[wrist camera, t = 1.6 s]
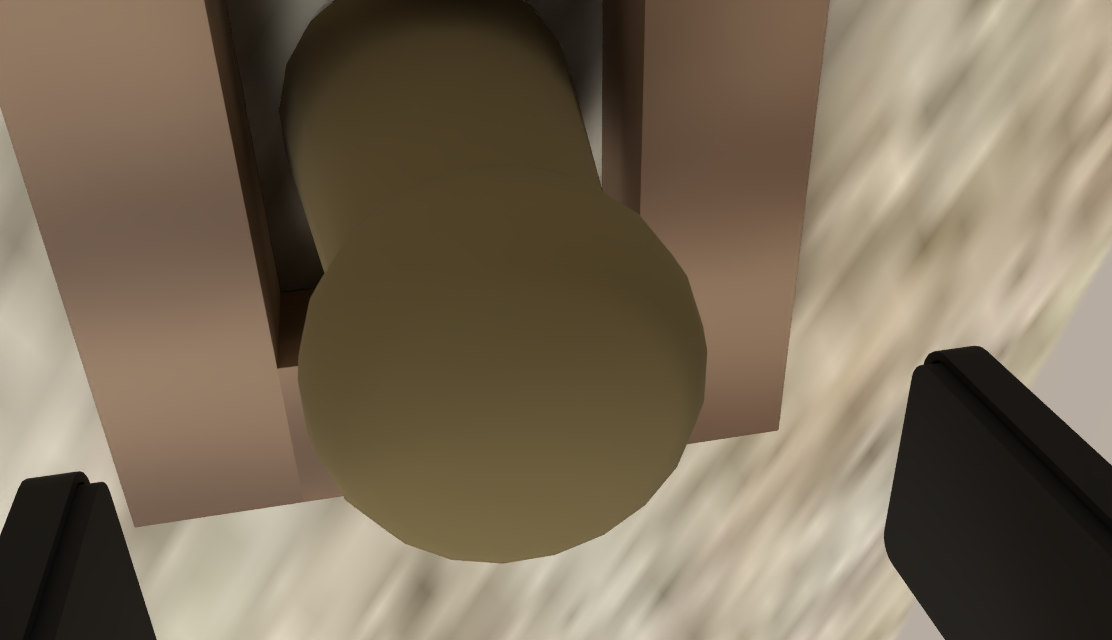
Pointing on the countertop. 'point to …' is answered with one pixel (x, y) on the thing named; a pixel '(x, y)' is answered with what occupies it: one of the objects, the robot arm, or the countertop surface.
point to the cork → (478, 287)
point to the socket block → (278, 318)
